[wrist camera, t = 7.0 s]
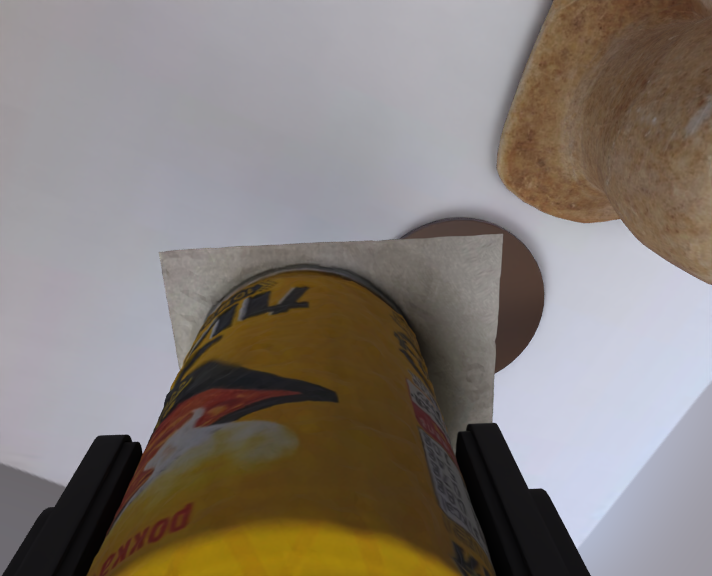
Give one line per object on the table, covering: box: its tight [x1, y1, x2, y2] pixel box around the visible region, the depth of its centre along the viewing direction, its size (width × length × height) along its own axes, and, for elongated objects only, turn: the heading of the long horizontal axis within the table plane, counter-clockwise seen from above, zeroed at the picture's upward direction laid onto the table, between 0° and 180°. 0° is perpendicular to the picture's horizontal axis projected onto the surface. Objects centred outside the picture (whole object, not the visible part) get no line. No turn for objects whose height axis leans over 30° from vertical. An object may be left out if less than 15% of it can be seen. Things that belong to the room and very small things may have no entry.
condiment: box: [87, 234, 503, 576], centre depth 10 cm, size 7×8×12 cm
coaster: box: [401, 218, 544, 374], centre depth 36 cm, size 11×11×1 cm
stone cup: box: [496, 0, 712, 285], centre depth 25 cm, size 15×12×15 cm
